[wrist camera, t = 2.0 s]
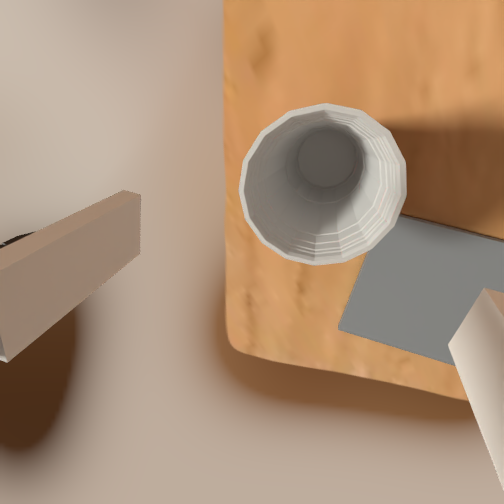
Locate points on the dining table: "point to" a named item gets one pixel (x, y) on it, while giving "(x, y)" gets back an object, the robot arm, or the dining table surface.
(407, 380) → the dining table surface
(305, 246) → the plastic cup
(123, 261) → the robot arm
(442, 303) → the rest mat
